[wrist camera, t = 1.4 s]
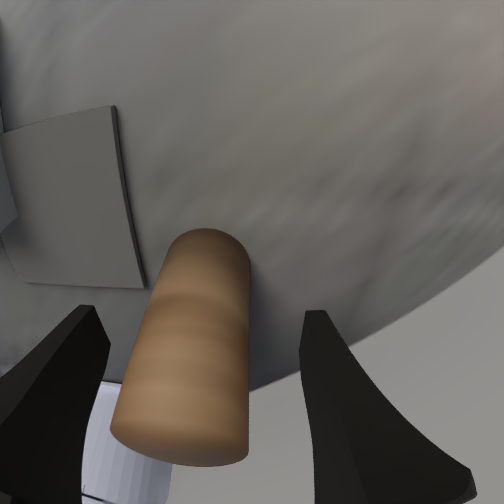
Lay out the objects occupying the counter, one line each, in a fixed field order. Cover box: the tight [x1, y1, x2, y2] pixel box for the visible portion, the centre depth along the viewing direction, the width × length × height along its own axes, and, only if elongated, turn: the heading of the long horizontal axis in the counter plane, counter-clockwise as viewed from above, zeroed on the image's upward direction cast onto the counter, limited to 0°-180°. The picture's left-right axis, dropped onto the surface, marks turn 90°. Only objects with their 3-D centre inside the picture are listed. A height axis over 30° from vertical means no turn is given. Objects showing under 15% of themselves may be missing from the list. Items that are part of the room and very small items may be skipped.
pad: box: [0, 105, 146, 288], centre depth 11 cm, size 8×8×1 cm
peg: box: [110, 228, 250, 467], centre depth 10 cm, size 4×4×8 cm
